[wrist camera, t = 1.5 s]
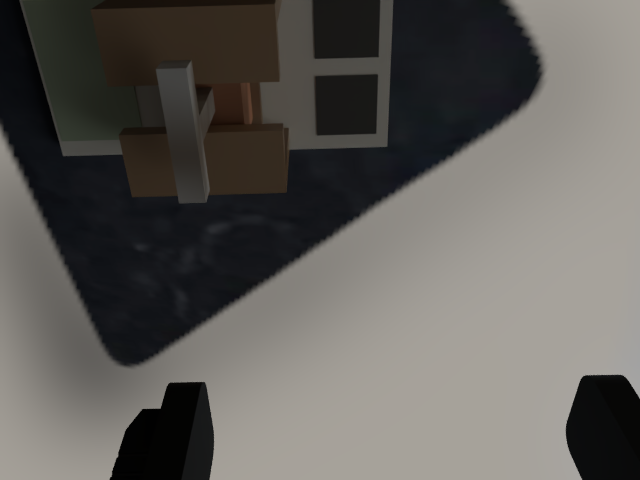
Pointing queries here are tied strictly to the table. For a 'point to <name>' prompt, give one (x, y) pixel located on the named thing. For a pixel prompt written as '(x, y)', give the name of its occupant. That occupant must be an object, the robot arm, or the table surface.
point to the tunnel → (214, 80)
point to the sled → (199, 120)
